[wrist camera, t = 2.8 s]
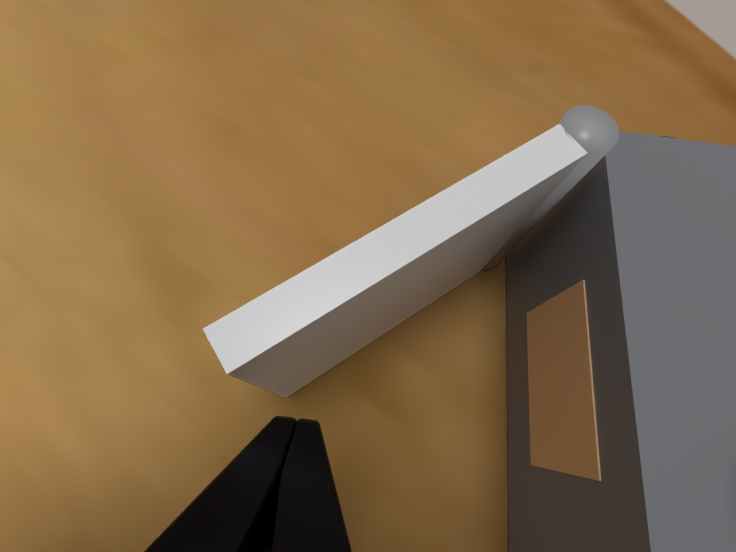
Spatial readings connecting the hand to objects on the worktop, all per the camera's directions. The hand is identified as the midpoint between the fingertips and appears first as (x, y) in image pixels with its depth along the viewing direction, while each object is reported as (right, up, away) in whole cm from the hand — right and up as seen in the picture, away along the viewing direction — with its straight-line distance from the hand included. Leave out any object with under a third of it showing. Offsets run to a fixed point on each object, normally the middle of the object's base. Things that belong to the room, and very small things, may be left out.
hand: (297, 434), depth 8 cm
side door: (+2, +2, +9) cm, 9 cm away
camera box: (+10, -1, +8) cm, 13 cm away
